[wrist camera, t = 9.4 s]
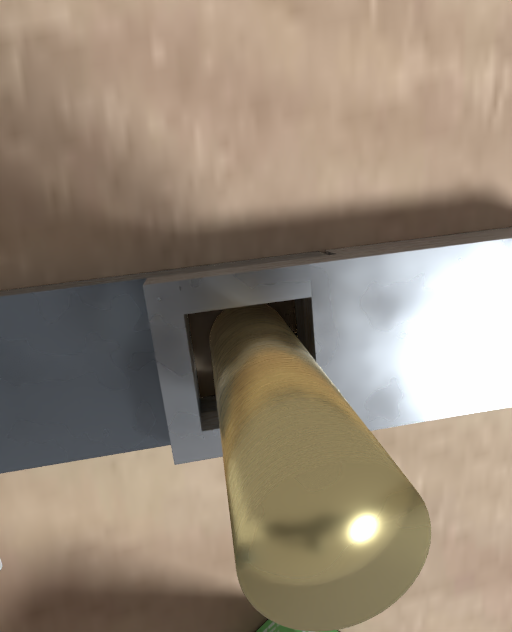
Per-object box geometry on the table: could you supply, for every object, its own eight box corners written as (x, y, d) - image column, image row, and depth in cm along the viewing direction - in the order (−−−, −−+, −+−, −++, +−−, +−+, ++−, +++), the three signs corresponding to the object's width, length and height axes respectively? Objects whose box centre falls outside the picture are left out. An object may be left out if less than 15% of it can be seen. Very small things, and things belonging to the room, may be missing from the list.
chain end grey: (177, 426, 19) (174, 464, 16) (151, 272, 17) (142, 285, 15) (534, 367, 21) (588, 393, 18) (545, 222, 19) (606, 225, 16)
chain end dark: (-124, 475, 18) (-152, 498, 17) (-187, 314, 16) (-224, 324, 15) (328, 401, 20) (338, 416, 19) (318, 251, 18) (329, 255, 17)
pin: (214, 380, 19) (247, 649, 8) (204, 306, 18) (224, 482, 7) (289, 369, 19) (430, 608, 8) (283, 295, 19) (431, 445, 7)
